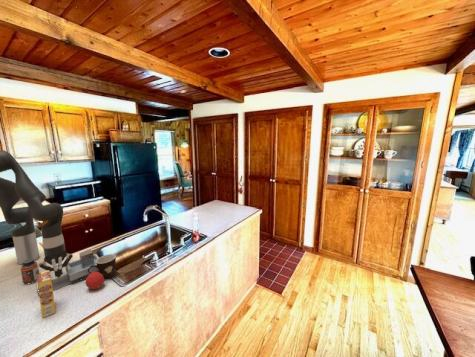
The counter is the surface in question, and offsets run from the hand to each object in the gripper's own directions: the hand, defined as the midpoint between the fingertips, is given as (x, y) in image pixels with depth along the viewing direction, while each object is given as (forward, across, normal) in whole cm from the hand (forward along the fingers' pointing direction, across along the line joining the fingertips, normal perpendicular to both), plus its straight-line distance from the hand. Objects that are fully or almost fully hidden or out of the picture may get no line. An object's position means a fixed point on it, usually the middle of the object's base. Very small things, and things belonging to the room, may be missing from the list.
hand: (59, 276), depth 98 cm
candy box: (+4, -6, -19) cm, 20 cm away
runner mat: (+4, +5, 0) cm, 6 cm away
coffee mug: (+4, +16, -12) cm, 21 cm away
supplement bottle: (+4, -9, +13) cm, 16 cm away
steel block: (0, +12, 0) cm, 12 cm away
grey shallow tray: (+4, +10, 0) cm, 11 cm away
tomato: (+4, +11, -18) cm, 22 cm away
